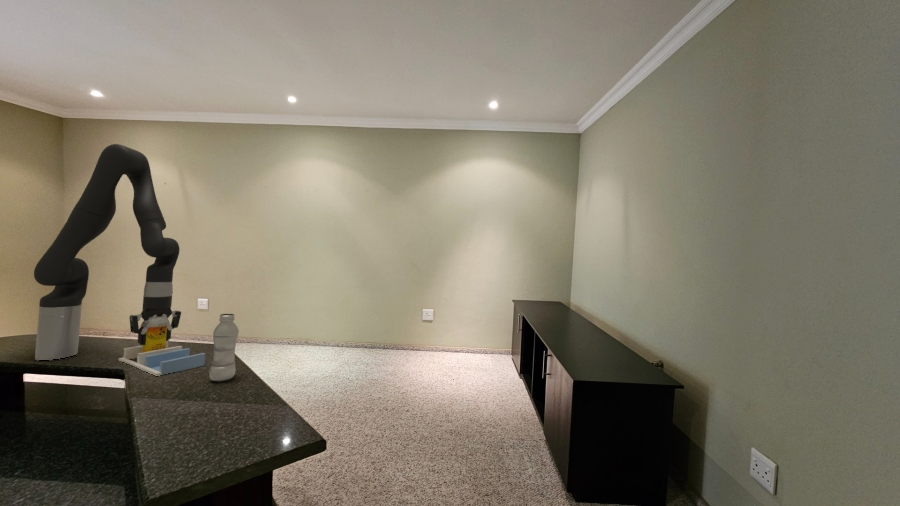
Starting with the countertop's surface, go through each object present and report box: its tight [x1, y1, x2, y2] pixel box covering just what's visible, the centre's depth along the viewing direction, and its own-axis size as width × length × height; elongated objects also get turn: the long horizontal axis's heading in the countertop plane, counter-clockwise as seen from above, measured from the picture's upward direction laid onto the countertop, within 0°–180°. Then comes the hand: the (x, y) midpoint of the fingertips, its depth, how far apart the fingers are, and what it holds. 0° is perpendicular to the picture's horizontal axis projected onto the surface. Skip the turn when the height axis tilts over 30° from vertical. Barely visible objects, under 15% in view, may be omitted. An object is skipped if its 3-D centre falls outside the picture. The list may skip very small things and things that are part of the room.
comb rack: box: [118, 341, 206, 377], centre depth 111 cm, size 24×13×4 cm, turn 65°
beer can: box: [141, 315, 169, 353], centre depth 115 cm, size 6×6×15 cm
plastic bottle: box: [208, 312, 240, 382], centre depth 101 cm, size 6×7×20 cm
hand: (154, 342), depth 115 cm, fingers closed on beer can, 6 cm apart
